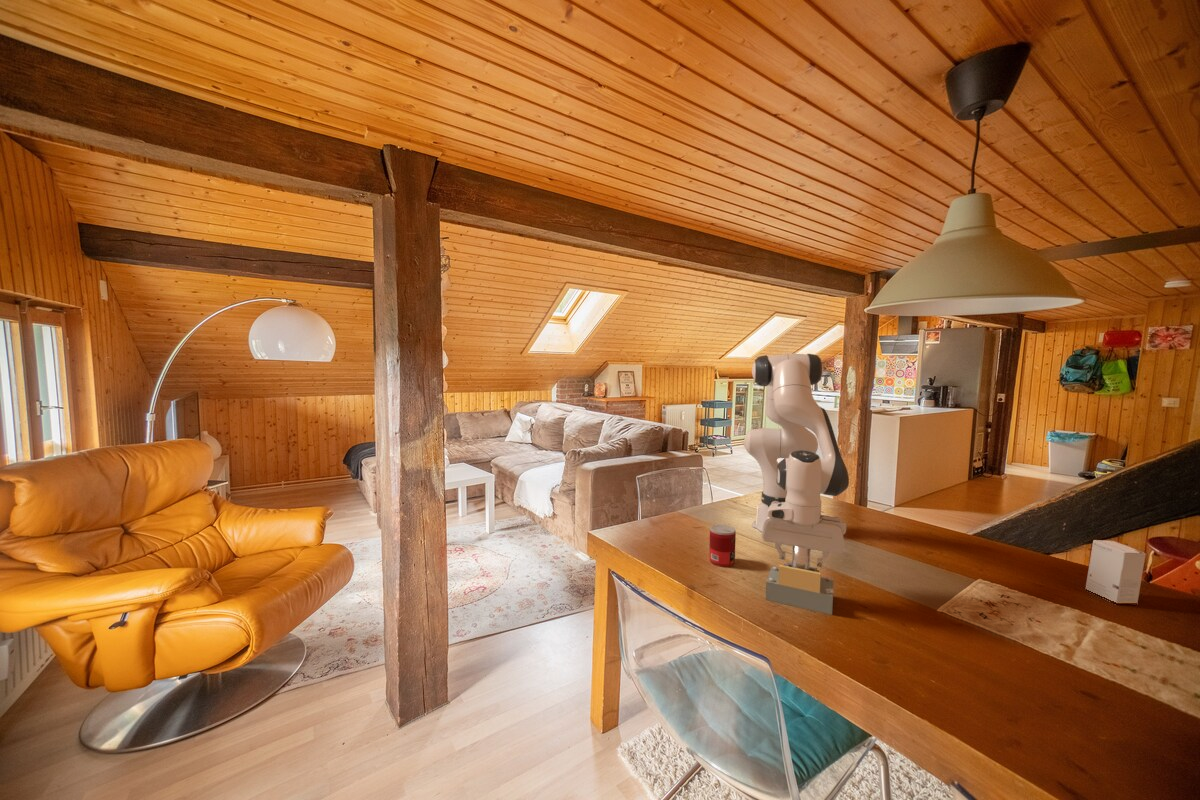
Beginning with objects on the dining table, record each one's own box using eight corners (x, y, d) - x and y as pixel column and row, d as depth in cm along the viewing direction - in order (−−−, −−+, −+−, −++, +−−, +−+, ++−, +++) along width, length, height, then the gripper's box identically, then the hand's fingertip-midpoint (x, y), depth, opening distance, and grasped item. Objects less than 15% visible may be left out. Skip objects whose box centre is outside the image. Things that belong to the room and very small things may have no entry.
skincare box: (1084, 590, 129) (1089, 539, 128) (1106, 590, 129) (1111, 539, 127) (1118, 606, 120) (1123, 551, 119) (1141, 606, 120) (1146, 551, 119)
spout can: (792, 575, 127) (793, 535, 126) (809, 579, 125) (811, 538, 124) (790, 582, 123) (792, 541, 122) (808, 586, 121) (810, 544, 120)
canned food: (735, 568, 142) (736, 533, 142) (709, 566, 144) (710, 532, 143) (733, 558, 150) (734, 525, 149) (708, 556, 152) (709, 523, 151)
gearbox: (771, 583, 132) (772, 550, 132) (832, 597, 125) (834, 561, 124) (765, 599, 124) (766, 563, 123) (832, 614, 116) (833, 576, 115)
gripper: (846, 515, 120) (844, 565, 121) (765, 503, 130) (763, 550, 131) (846, 522, 115) (844, 575, 116) (761, 510, 124) (760, 559, 125)
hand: (800, 562), depth 123 cm, fingers open, 8 cm apart
